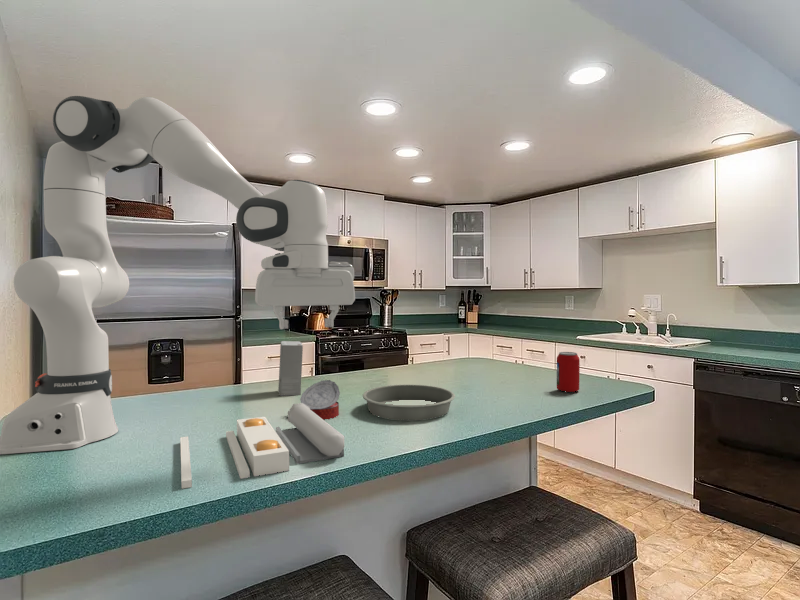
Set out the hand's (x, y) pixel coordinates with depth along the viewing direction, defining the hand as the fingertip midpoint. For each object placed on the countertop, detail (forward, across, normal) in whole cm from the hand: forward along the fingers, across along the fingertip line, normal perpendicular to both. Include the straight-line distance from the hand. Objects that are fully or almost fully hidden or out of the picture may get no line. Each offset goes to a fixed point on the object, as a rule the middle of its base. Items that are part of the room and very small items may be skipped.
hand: (306, 328), depth 96 cm
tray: (+24, 0, 0) cm, 24 cm away
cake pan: (+25, -31, -16) cm, 43 cm away
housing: (+24, +15, 0) cm, 29 cm away
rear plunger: (+24, +10, -8) cm, 27 cm away
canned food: (+24, -8, -21) cm, 33 cm away
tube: (+21, +1, 0) cm, 21 cm away
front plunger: (+23, +10, +8) cm, 27 cm away
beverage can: (+24, -86, -14) cm, 91 cm away
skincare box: (+24, -8, -50) cm, 56 cm away
